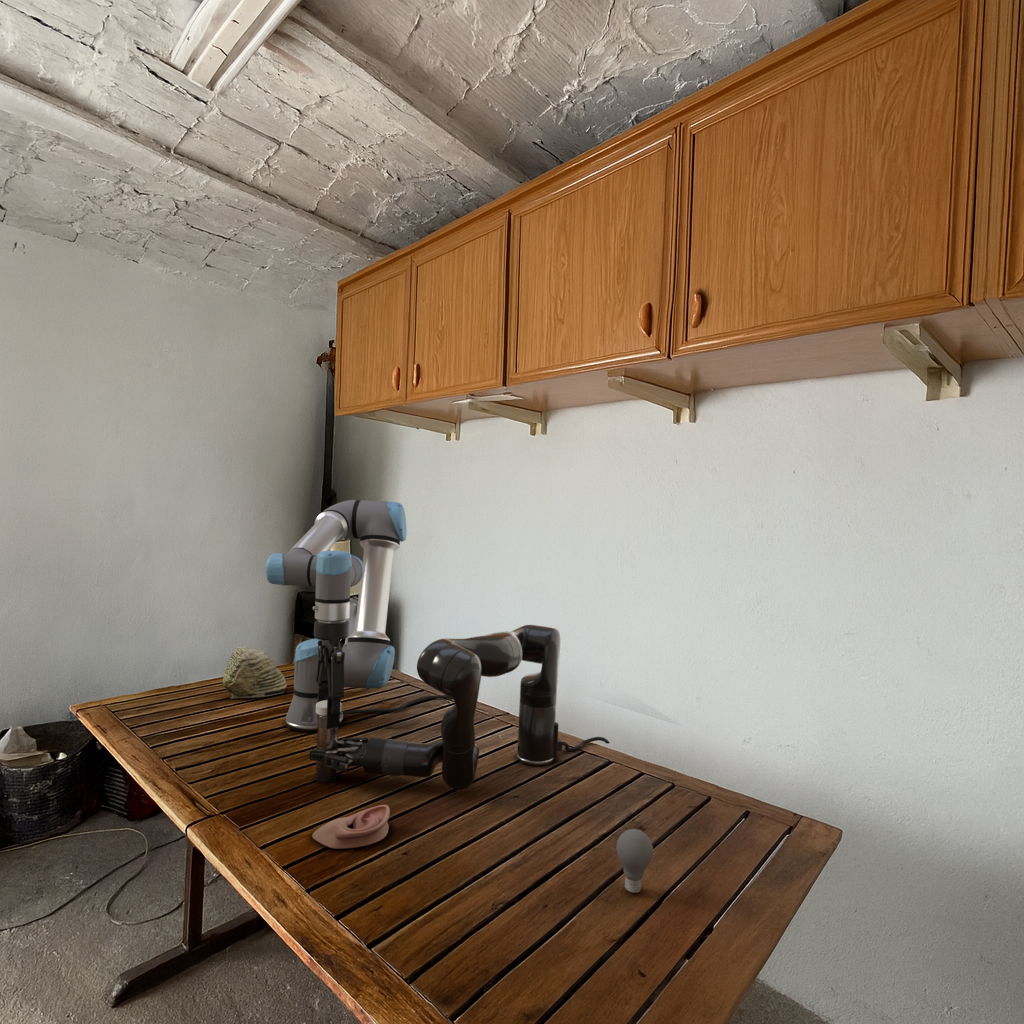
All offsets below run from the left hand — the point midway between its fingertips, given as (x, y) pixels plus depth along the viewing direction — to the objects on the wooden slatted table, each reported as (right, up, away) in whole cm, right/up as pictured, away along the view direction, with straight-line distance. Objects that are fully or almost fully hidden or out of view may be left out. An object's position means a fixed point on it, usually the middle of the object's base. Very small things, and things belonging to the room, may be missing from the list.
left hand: (328, 721), depth 142 cm
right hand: (-3, -7, 0) cm, 7 cm away
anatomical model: (+11, -14, -23) cm, 29 cm away
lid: (0, +4, 0) cm, 4 cm away
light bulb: (+62, -16, -37) cm, 74 cm away
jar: (-1, -13, 0) cm, 13 cm away
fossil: (-39, -10, +56) cm, 69 cm away
